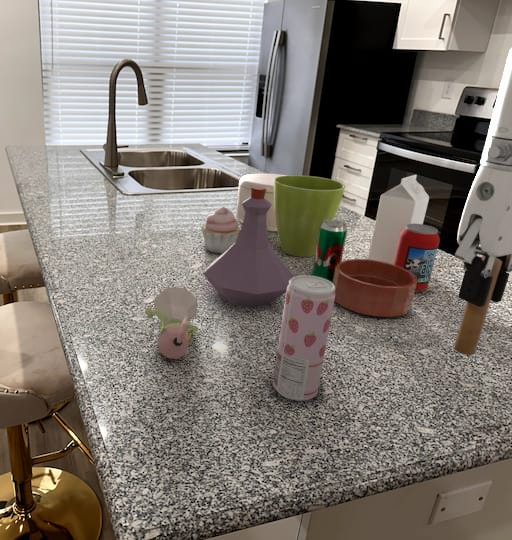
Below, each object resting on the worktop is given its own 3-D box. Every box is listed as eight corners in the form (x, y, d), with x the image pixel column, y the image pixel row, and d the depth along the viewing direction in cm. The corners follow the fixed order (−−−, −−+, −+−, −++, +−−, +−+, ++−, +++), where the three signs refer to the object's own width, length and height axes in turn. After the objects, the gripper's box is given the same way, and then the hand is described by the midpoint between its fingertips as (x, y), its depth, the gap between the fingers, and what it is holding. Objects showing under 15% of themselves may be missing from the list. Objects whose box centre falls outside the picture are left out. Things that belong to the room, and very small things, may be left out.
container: (300, 216, 144) (306, 175, 140) (306, 236, 128) (314, 189, 123) (236, 211, 147) (240, 170, 143) (234, 229, 130) (238, 184, 126)
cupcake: (206, 257, 111) (209, 212, 107) (194, 243, 119) (196, 201, 116) (246, 255, 113) (251, 211, 109) (231, 242, 121) (236, 200, 118)
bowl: (393, 290, 98) (400, 261, 96) (421, 322, 86) (429, 290, 83) (323, 285, 99) (328, 256, 96) (340, 317, 87) (347, 284, 84)
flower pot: (287, 236, 127) (296, 172, 121) (344, 253, 117) (357, 183, 111) (252, 249, 117) (260, 180, 111) (311, 268, 107) (323, 193, 101)
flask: (309, 298, 93) (328, 190, 86) (258, 327, 82) (274, 205, 75) (236, 272, 104) (246, 173, 96) (182, 294, 93) (189, 185, 85)
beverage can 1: (326, 392, 66) (347, 286, 60) (297, 407, 63) (316, 297, 57) (292, 372, 70) (308, 270, 65) (263, 385, 67) (277, 279, 62)
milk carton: (366, 262, 112) (384, 175, 105) (381, 255, 116) (399, 171, 109) (399, 271, 107) (420, 181, 100) (413, 264, 112) (434, 177, 105)
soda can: (342, 281, 101) (353, 223, 96) (329, 288, 98) (340, 228, 93) (318, 274, 104) (328, 217, 100) (305, 280, 101) (315, 221, 96)
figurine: (142, 307, 83) (134, 360, 70) (160, 269, 80) (155, 318, 67) (190, 326, 84) (191, 383, 71) (210, 290, 81) (215, 342, 68)
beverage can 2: (409, 296, 96) (424, 235, 91) (381, 282, 101) (394, 224, 97) (434, 291, 98) (450, 231, 94) (405, 278, 104) (419, 221, 99)
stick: (469, 346, 69) (495, 256, 64) (478, 355, 67) (506, 263, 62) (450, 345, 69) (475, 255, 64) (459, 354, 67) (485, 262, 62)
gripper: (510, 164, 52) (464, 324, 59) (599, 155, 58) (548, 301, 65) (443, 152, 58) (409, 298, 65) (530, 146, 65) (491, 279, 72)
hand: (479, 298), depth 65 cm, fingers closed on stick, 2 cm apart
